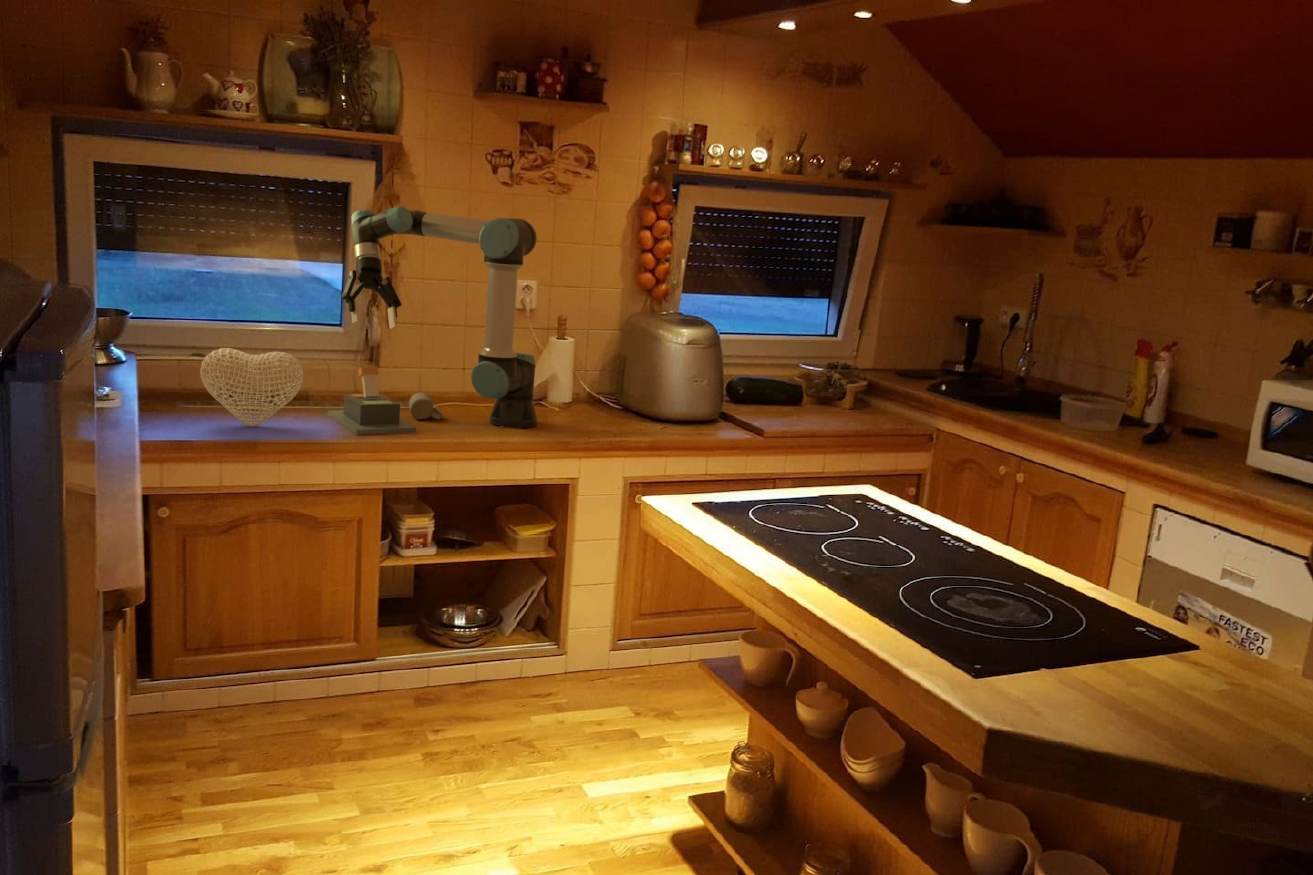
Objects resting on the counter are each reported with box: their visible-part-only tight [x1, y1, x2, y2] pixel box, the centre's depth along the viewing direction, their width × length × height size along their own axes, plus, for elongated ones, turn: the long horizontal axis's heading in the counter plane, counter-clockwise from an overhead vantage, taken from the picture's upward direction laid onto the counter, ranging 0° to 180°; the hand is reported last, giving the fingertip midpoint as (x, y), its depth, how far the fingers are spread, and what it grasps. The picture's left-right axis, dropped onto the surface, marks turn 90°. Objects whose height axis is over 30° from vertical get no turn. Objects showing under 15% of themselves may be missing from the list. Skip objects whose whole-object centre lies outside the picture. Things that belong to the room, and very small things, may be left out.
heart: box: [199, 347, 304, 428], centre depth 313 cm, size 28×16×22 cm, turn 96°
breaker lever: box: [358, 366, 380, 398], centre depth 331 cm, size 3×5×9 cm, turn 123°
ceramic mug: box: [408, 392, 444, 420], centre depth 346 cm, size 11×8×8 cm
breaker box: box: [327, 393, 417, 436], centre depth 331 cm, size 28×18×8 cm, turn 33°
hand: (374, 325), depth 335 cm, fingers open, 13 cm apart
